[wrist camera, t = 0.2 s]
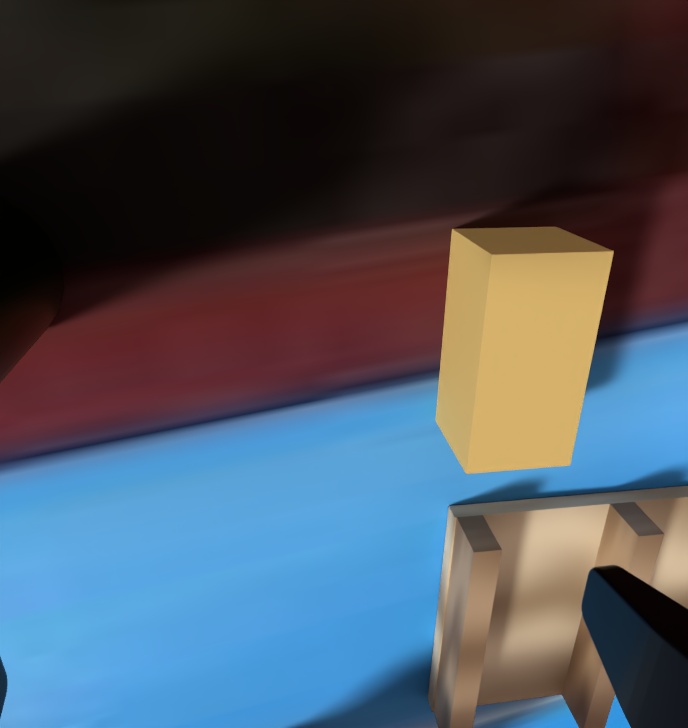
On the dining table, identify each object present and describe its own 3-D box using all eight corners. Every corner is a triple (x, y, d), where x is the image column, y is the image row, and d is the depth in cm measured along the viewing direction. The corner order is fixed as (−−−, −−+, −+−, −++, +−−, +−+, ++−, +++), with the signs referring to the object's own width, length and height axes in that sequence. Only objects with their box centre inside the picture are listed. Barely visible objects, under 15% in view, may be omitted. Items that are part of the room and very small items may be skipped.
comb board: (693, 663, 34) (731, 711, 31) (427, 697, 32) (444, 753, 29) (763, 479, 29) (816, 519, 26) (449, 505, 26) (471, 552, 24)
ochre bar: (524, 412, 25) (570, 465, 22) (434, 418, 25) (466, 473, 21) (553, 225, 22) (613, 251, 18) (450, 227, 21) (491, 254, 18)
